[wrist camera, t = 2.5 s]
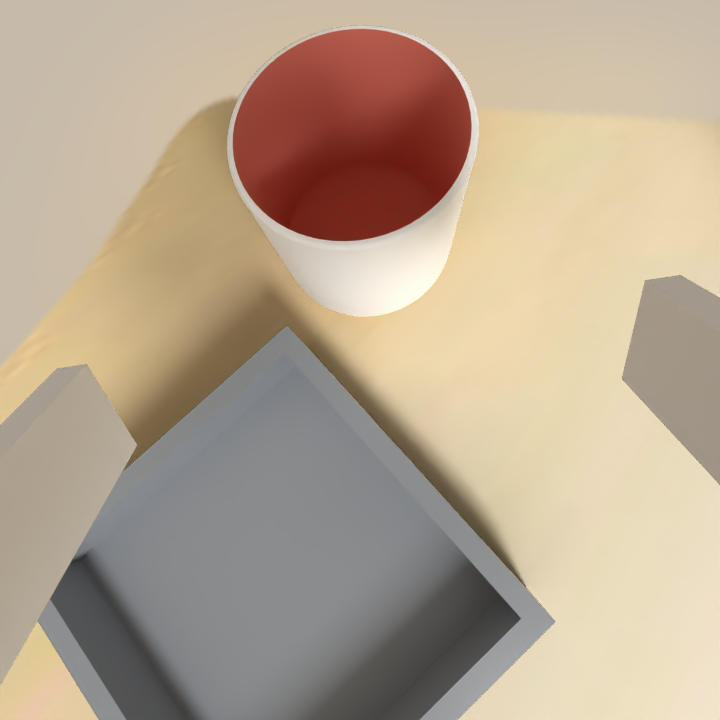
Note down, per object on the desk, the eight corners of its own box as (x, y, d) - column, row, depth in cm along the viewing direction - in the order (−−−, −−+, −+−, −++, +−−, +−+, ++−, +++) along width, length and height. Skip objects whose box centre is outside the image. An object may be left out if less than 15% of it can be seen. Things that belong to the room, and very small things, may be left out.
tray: (527, 589, 22) (555, 621, 18) (266, 846, 21) (235, 941, 17) (304, 342, 25) (287, 325, 22) (71, 552, 24) (8, 573, 20)
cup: (256, 258, 27) (175, 154, 17) (358, 145, 28) (335, -16, 18) (378, 355, 25) (365, 301, 15) (482, 231, 26) (533, 103, 16)
